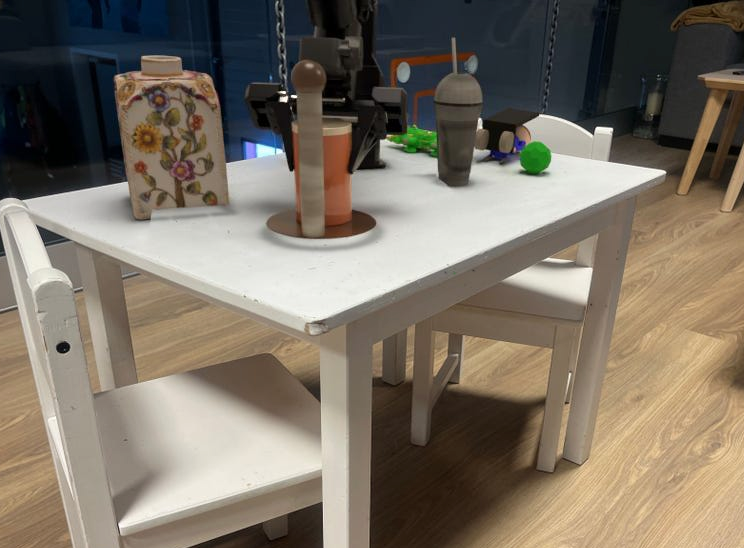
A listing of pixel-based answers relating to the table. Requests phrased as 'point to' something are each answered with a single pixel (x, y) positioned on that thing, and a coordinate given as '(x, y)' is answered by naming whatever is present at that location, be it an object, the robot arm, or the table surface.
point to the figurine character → (504, 133)
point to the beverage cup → (456, 124)
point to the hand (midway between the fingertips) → (320, 171)
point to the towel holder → (313, 166)
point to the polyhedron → (535, 157)
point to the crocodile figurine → (416, 140)
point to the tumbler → (330, 171)
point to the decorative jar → (171, 137)
